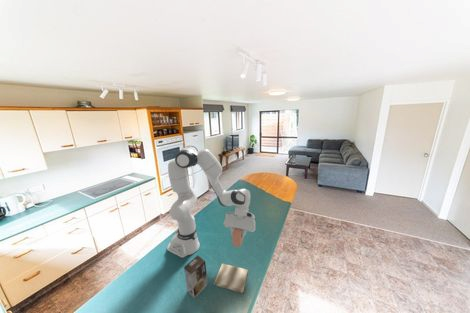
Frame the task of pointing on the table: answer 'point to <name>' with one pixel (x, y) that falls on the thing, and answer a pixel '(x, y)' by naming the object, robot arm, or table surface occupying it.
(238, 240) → the brick block
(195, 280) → the coffee box
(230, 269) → the birch board
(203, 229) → the table surface
